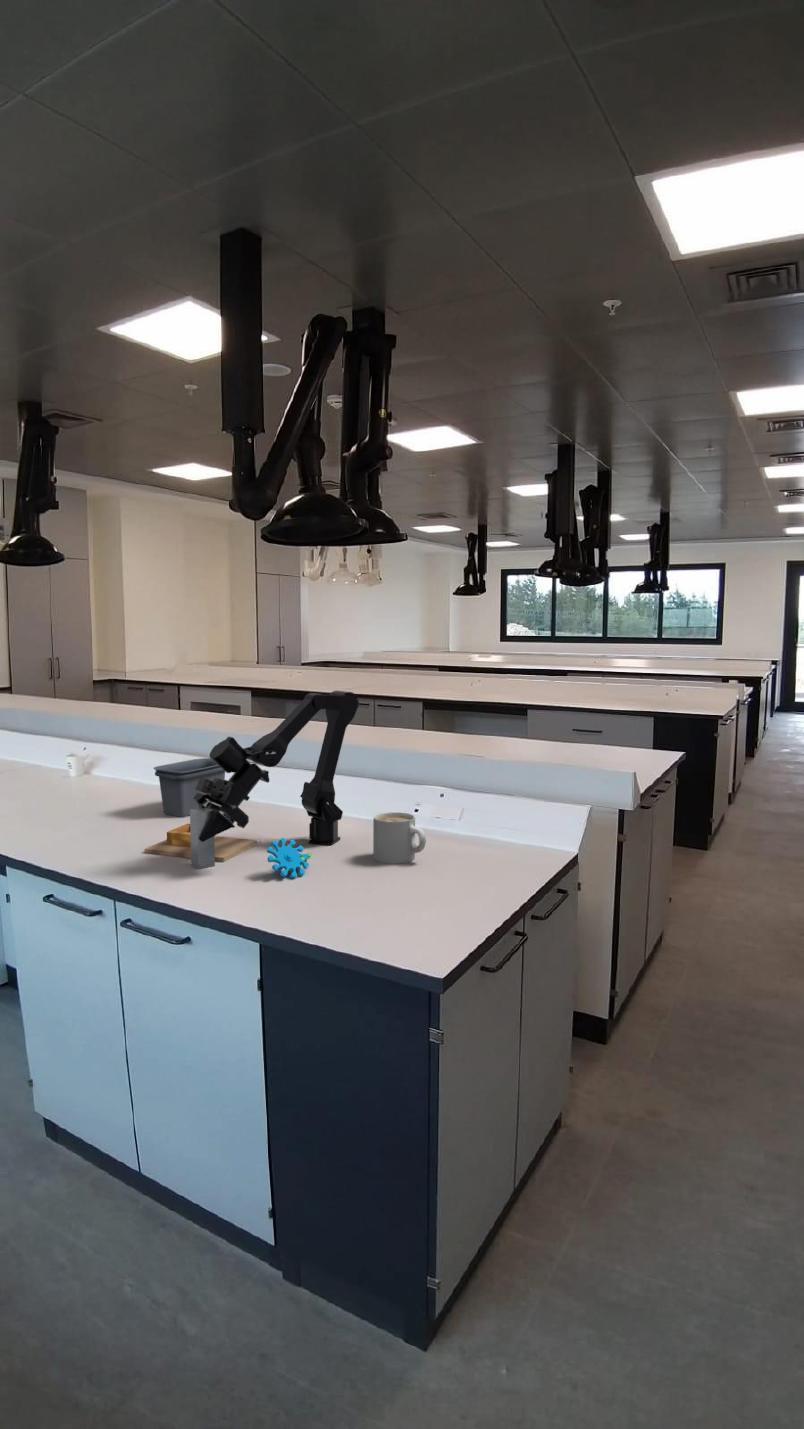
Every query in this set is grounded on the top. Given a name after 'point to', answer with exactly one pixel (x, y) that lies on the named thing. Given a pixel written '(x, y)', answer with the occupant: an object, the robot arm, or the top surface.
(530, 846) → the top surface
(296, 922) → the top surface
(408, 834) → the coffee mug
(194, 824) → the link bar
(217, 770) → the storage bin
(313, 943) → the top surface
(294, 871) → the gear
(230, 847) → the plate
